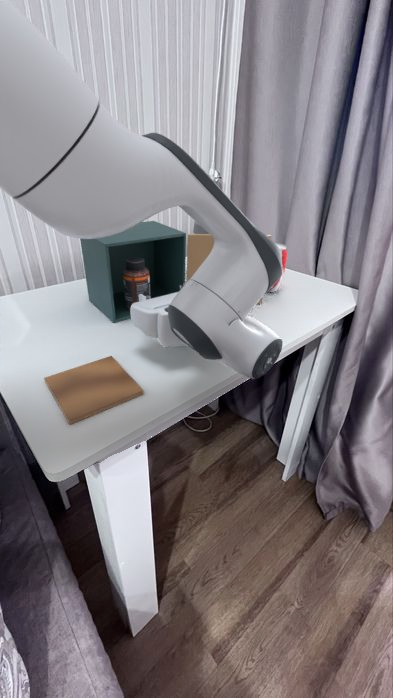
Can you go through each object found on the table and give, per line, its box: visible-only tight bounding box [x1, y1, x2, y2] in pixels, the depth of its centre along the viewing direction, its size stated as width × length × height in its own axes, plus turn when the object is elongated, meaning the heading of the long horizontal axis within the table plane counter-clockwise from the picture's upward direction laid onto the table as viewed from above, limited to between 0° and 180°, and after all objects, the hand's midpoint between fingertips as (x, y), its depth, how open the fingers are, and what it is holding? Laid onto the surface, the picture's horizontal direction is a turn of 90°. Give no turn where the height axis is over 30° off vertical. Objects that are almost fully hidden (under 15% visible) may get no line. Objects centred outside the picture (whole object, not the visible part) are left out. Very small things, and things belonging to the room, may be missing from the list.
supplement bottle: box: [123, 257, 151, 309], centre depth 76 cm, size 6×6×11 cm
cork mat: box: [43, 355, 145, 425], centre depth 54 cm, size 12×12×1 cm
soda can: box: [267, 242, 288, 293], centre depth 90 cm, size 7×7×12 cm
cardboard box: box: [186, 233, 272, 305], centre depth 81 cm, size 6×19×17 cm, turn 97°
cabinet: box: [79, 220, 187, 324], centre depth 78 cm, size 14×19×17 cm
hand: (162, 292), depth 68 cm, fingers open, 8 cm apart
